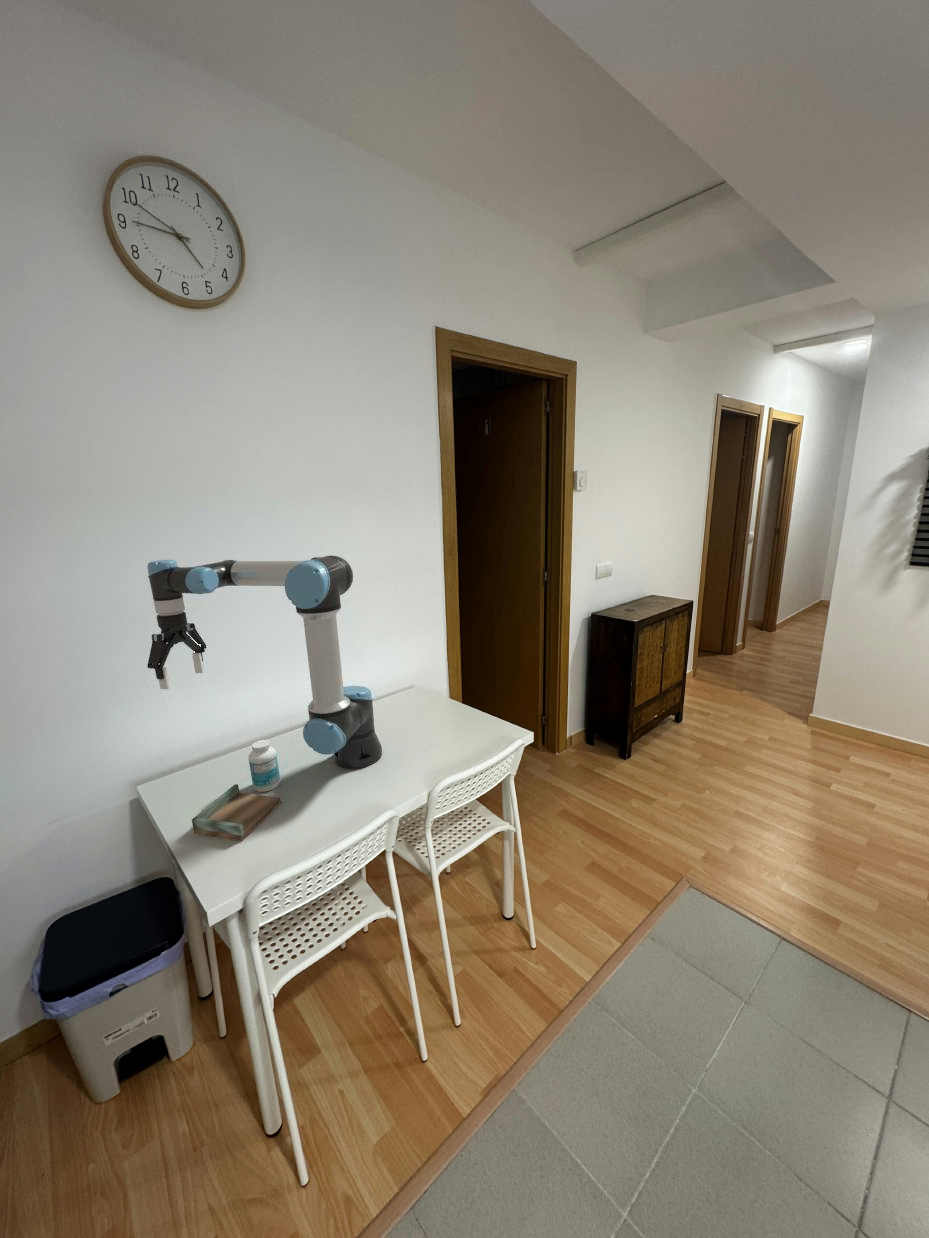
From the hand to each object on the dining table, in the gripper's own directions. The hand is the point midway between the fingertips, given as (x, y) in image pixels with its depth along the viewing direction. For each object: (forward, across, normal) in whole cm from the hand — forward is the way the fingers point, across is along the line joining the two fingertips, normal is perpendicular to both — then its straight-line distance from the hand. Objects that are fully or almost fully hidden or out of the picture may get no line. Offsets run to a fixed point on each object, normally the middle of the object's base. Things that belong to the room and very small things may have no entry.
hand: (183, 680), depth 152 cm
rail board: (+28, +22, +32) cm, 48 cm away
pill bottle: (+28, +7, +30) cm, 42 cm away
